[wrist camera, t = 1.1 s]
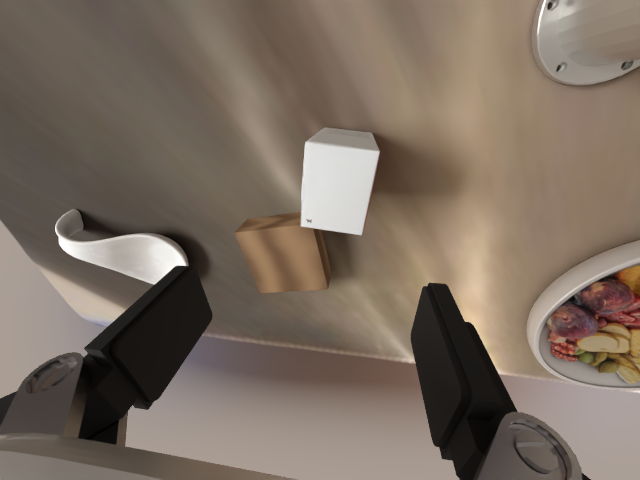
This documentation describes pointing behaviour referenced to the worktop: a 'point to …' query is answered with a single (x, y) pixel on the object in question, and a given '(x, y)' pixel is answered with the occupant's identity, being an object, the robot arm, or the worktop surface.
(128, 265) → the spoon rest
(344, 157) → the small box
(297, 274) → the tan block
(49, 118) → the worktop surface
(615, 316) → the bowl
